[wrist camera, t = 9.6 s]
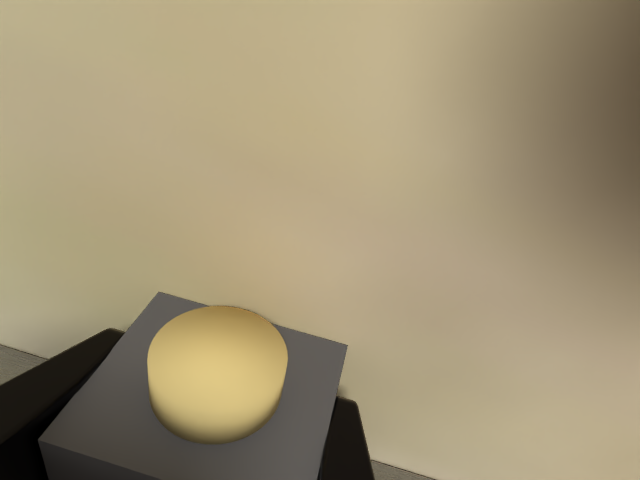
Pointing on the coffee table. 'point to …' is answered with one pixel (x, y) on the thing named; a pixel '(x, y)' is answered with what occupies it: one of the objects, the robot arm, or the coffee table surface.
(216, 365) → the plug
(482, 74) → the coffee table surface
